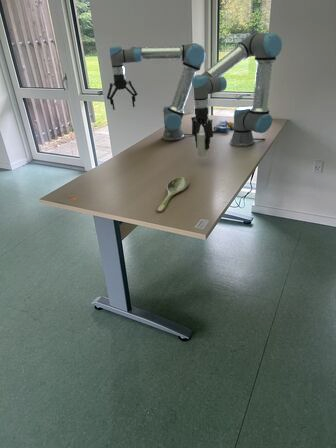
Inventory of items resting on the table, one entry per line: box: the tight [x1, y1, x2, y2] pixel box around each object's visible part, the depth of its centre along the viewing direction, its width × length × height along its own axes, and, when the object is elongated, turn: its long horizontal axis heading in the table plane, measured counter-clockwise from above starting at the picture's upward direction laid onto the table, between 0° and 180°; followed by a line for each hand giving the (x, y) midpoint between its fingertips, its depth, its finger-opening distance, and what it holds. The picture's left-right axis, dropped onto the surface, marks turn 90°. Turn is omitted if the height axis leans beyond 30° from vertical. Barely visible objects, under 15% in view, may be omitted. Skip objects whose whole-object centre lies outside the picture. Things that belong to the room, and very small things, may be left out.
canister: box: [196, 131, 209, 157], centre depth 193 cm, size 6×6×13 cm
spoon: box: [157, 176, 190, 213], centre depth 167 cm, size 35×11×2 cm, turn 159°
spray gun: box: [212, 120, 234, 133], centre depth 256 cm, size 21×4×15 cm
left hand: (123, 108), depth 224 cm, fingers open, 13 cm apart
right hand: (202, 147), depth 194 cm, fingers closed on canister, 6 cm apart
